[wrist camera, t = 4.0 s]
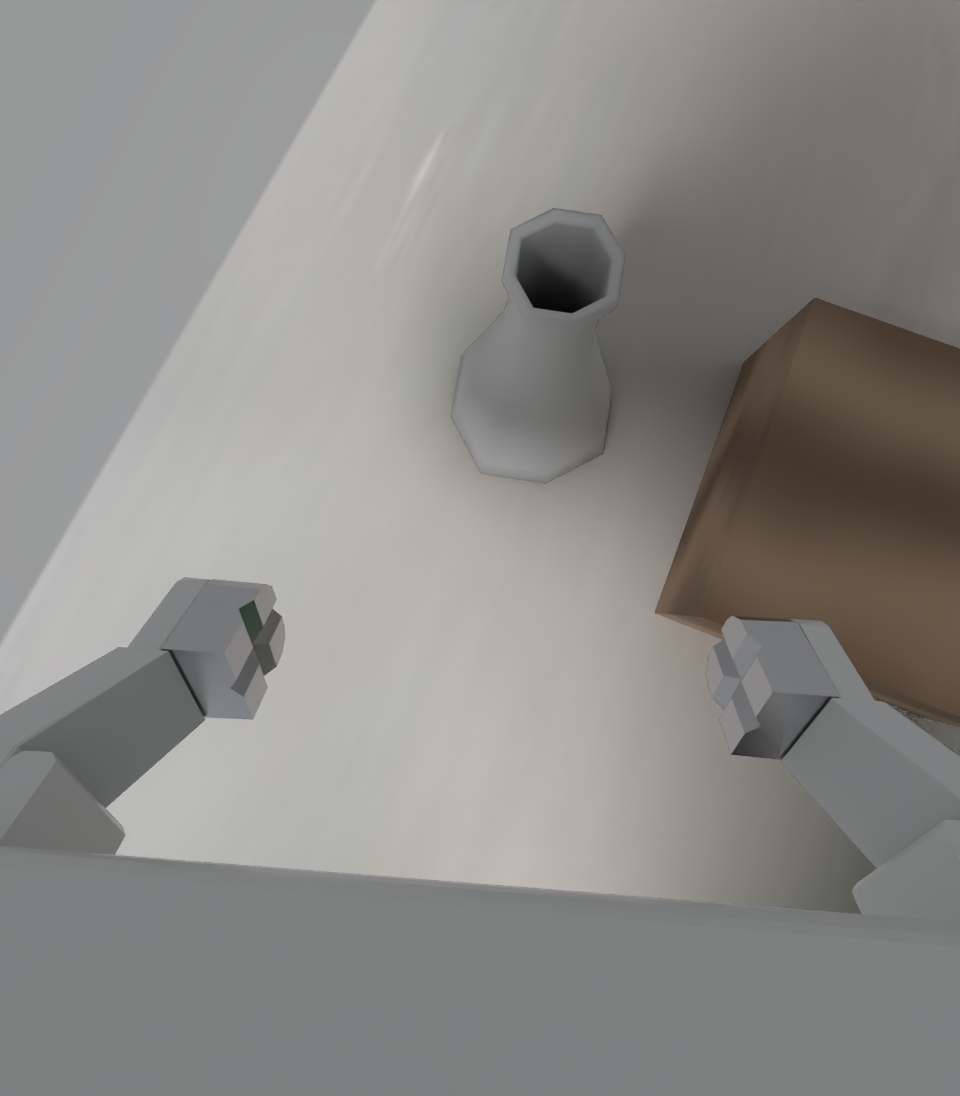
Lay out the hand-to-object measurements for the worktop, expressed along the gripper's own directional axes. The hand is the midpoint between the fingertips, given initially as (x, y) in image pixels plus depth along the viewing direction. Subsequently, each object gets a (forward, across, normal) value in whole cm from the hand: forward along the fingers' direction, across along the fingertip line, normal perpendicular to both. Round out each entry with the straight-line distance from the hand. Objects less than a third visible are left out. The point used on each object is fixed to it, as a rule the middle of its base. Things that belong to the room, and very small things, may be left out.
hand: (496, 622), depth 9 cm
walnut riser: (+12, -14, +6) cm, 20 cm away
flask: (+16, -1, +3) cm, 16 cm away
